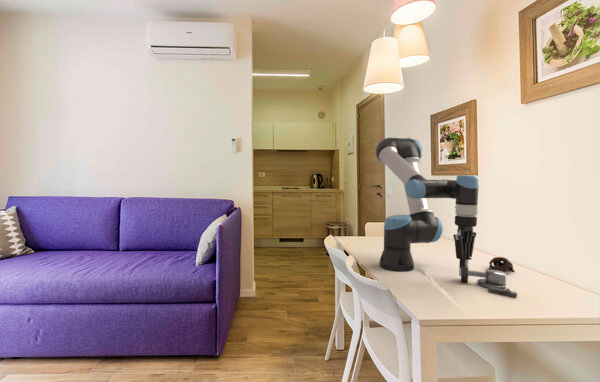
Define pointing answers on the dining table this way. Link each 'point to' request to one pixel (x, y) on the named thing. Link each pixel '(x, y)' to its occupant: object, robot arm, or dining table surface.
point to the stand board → (498, 291)
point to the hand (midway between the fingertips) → (463, 275)
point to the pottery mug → (501, 264)
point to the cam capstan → (491, 277)
